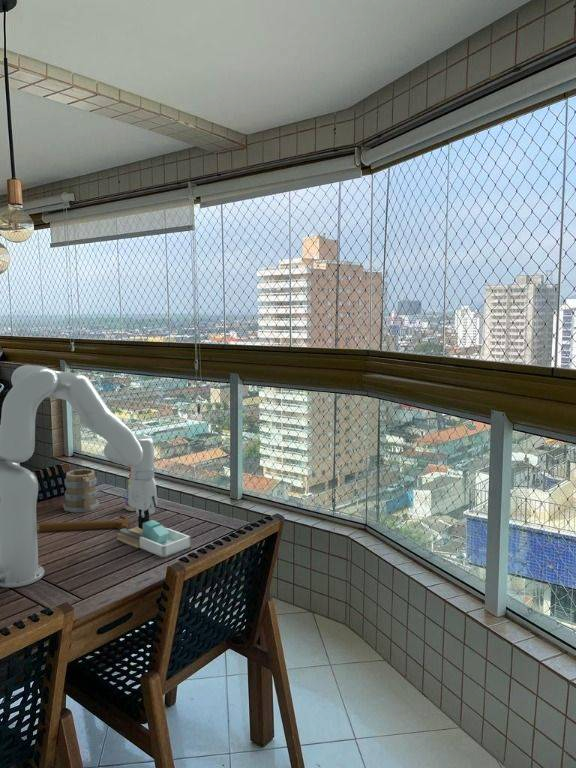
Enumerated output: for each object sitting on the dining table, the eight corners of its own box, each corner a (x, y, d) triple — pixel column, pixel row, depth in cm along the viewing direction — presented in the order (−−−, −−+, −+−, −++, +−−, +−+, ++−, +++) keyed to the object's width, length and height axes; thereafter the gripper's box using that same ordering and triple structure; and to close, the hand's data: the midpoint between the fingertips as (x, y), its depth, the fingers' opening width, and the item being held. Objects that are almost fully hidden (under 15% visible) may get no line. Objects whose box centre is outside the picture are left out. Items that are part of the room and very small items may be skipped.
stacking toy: (142, 512, 210) (142, 464, 208) (122, 511, 210) (121, 463, 208) (148, 505, 218) (147, 459, 216) (128, 505, 218) (127, 458, 216)
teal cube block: (150, 538, 179) (150, 526, 179) (142, 534, 182) (142, 523, 181) (159, 534, 182) (160, 523, 182) (152, 531, 185) (152, 519, 184)
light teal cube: (156, 545, 177) (159, 536, 175) (149, 537, 179) (152, 528, 177) (166, 542, 180) (169, 532, 179) (158, 534, 182) (162, 524, 181)
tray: (163, 557, 169) (163, 546, 169) (139, 547, 176) (139, 537, 176) (190, 546, 177) (190, 536, 177) (166, 537, 185) (166, 527, 185)
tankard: (62, 504, 218) (61, 467, 216) (95, 500, 224) (94, 464, 222) (68, 520, 200) (67, 480, 199) (104, 515, 206) (103, 476, 205)
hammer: (36, 536, 185) (127, 533, 189) (36, 527, 185) (127, 524, 189) (46, 524, 197) (132, 522, 201) (46, 516, 197) (132, 513, 201)
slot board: (137, 547, 176) (137, 538, 176) (117, 539, 183) (116, 530, 183) (167, 537, 186) (166, 528, 185) (146, 529, 192) (146, 521, 192)
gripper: (119, 472, 184) (120, 525, 186) (147, 480, 175) (149, 536, 177) (137, 467, 190) (139, 519, 192) (166, 475, 180) (167, 529, 182)
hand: (143, 527), depth 184 cm, fingers closed
